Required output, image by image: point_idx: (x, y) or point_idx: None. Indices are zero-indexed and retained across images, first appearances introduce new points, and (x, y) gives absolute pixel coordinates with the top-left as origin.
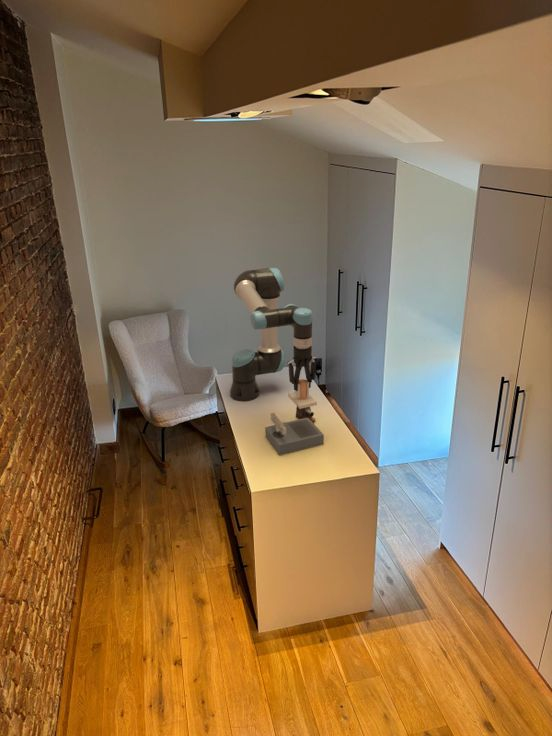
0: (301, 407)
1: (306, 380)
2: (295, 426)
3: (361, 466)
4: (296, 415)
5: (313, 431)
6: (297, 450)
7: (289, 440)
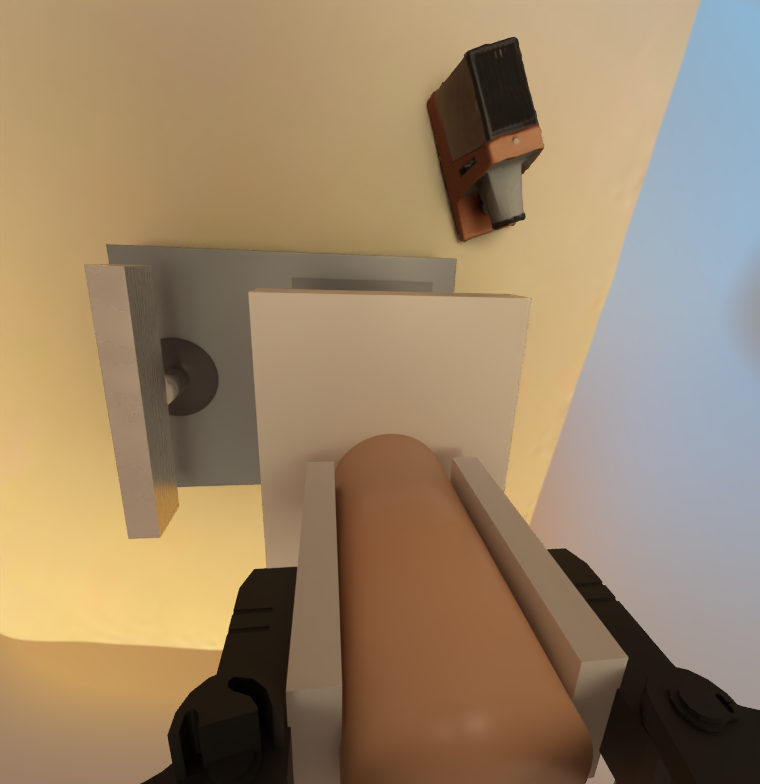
0: None
1: (612, 683)
2: None
3: None
4: (432, 105)
5: None
6: None
7: (223, 463)
